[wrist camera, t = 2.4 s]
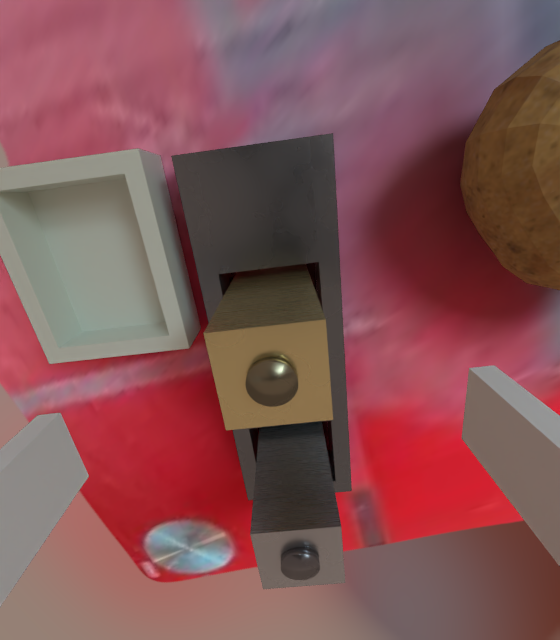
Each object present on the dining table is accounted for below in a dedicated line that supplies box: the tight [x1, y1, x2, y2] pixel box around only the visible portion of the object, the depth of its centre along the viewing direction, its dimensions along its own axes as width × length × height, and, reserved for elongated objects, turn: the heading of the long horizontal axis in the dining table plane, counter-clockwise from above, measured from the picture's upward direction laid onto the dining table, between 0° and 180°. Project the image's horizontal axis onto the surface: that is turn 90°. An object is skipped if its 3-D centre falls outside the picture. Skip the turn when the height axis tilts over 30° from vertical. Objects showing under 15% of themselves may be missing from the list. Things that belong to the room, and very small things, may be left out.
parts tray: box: [0, 149, 201, 364], centre depth 19 cm, size 11×9×3 cm
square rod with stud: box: [250, 421, 345, 589], centre depth 21 cm, size 4×4×10 cm
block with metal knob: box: [203, 264, 333, 430], centre depth 17 cm, size 4×4×10 cm
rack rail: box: [171, 133, 352, 500], centre depth 21 cm, size 24×8×3 cm, turn 7°
